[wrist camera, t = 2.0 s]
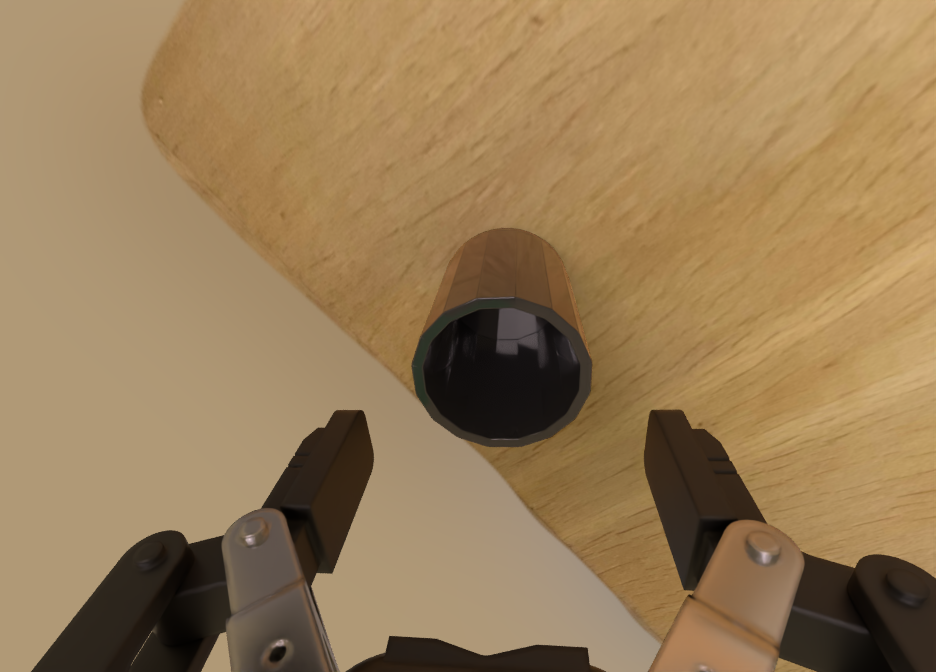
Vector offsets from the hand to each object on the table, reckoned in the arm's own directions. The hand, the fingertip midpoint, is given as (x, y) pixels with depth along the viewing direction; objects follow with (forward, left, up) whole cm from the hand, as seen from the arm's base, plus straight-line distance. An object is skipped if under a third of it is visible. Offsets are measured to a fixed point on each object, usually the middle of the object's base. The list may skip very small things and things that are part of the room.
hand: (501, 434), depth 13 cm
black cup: (0, 0, -11) cm, 11 cm away
